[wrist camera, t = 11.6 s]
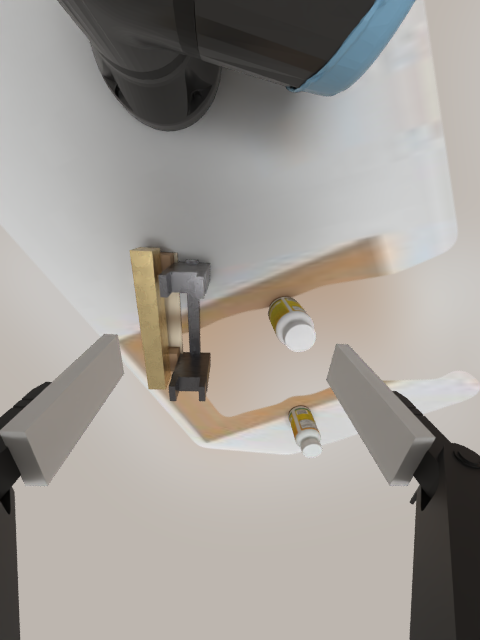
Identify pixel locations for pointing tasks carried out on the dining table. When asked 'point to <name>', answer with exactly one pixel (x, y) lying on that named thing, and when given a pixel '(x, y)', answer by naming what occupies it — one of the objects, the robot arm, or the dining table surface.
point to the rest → (172, 315)
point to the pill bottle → (292, 324)
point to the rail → (151, 315)
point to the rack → (192, 364)
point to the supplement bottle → (305, 431)
